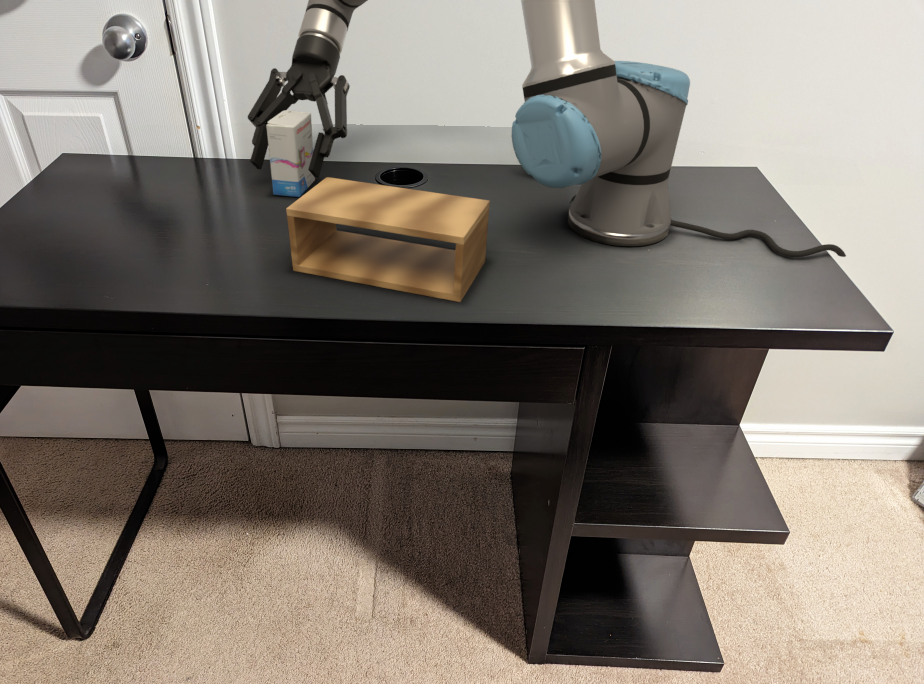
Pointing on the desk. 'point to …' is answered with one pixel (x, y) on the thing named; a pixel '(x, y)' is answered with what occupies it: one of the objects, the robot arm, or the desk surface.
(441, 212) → the oak stand
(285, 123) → the ink box
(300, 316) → the desk surface
